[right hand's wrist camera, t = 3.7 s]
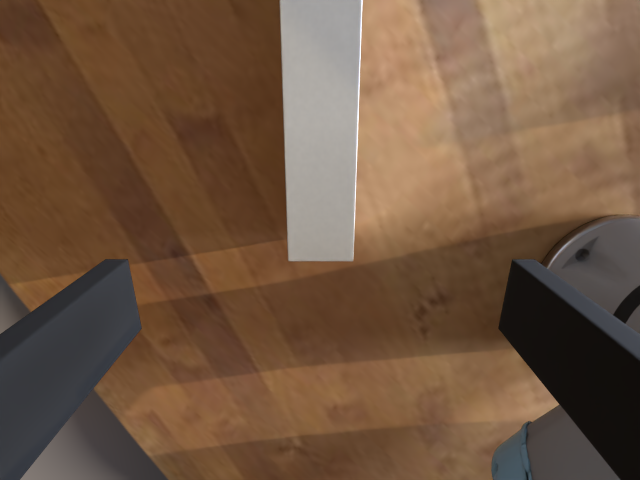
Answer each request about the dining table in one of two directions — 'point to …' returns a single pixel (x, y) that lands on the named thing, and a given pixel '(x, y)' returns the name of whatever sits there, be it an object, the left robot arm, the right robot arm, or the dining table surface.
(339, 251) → the beam
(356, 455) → the dining table surface
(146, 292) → the dining table surface
